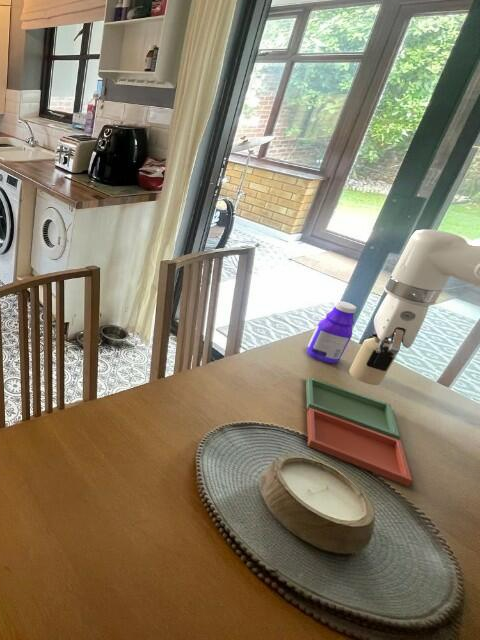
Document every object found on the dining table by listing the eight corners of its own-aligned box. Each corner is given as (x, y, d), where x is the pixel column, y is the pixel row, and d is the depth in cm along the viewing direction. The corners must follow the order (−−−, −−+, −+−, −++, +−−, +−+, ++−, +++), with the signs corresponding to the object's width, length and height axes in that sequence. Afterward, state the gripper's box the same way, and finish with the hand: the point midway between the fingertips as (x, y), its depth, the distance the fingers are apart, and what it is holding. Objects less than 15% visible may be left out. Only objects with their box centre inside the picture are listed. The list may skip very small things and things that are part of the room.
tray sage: (386, 410, 97) (390, 404, 97) (395, 443, 89) (399, 436, 88) (305, 382, 106) (308, 376, 105) (306, 410, 97) (309, 403, 96)
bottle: (336, 356, 116) (361, 304, 108) (339, 367, 111) (366, 313, 104) (304, 347, 119) (327, 296, 112) (306, 358, 115) (330, 305, 107)
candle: (342, 371, 95) (360, 335, 90) (359, 366, 96) (377, 331, 92) (370, 387, 90) (390, 350, 86) (386, 382, 91) (407, 346, 87)
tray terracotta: (396, 447, 88) (401, 440, 87) (407, 487, 79) (412, 480, 78) (306, 413, 96) (309, 407, 95) (307, 447, 88) (311, 440, 87)
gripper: (449, 314, 75) (404, 389, 83) (427, 279, 88) (389, 347, 95) (394, 301, 79) (355, 374, 87) (380, 269, 92) (348, 336, 99)
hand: (374, 359), depth 91 cm, fingers closed on candle, 5 cm apart
